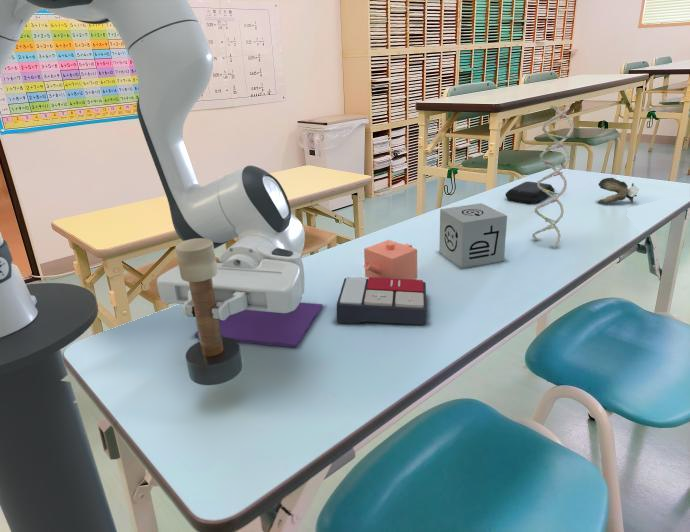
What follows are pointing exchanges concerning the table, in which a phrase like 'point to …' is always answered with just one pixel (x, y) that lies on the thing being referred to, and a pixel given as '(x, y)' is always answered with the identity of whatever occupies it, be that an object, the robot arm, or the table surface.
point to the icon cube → (472, 235)
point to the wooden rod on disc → (206, 317)
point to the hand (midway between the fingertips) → (202, 313)
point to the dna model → (554, 173)
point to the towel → (270, 325)
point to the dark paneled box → (382, 301)
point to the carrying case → (528, 192)
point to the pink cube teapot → (390, 261)
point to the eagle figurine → (617, 190)
